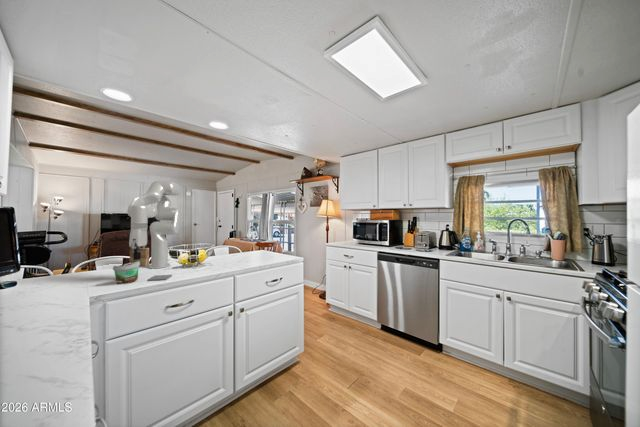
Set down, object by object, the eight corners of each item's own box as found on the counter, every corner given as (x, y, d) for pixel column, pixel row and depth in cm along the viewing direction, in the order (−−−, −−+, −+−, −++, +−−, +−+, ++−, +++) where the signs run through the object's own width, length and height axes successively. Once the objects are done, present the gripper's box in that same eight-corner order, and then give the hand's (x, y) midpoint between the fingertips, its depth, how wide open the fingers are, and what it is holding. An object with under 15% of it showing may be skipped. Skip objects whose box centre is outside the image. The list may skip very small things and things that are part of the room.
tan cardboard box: (133, 265, 134) (133, 248, 134) (148, 265, 136) (149, 247, 136) (129, 267, 131) (129, 249, 131) (145, 266, 132) (146, 248, 132)
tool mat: (154, 276, 136) (154, 275, 136) (172, 276, 138) (172, 274, 138) (147, 281, 128) (147, 279, 128) (165, 280, 129) (165, 278, 130)
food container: (121, 286, 119) (120, 268, 118) (113, 284, 121) (112, 266, 120) (146, 278, 131) (145, 260, 129) (138, 276, 133) (137, 259, 131)
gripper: (139, 226, 140) (139, 256, 140) (123, 227, 124) (122, 261, 124) (153, 226, 142) (153, 256, 142) (139, 227, 126) (138, 261, 126)
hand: (138, 258), depth 133 cm, fingers closed on tan cardboard box, 3 cm apart
